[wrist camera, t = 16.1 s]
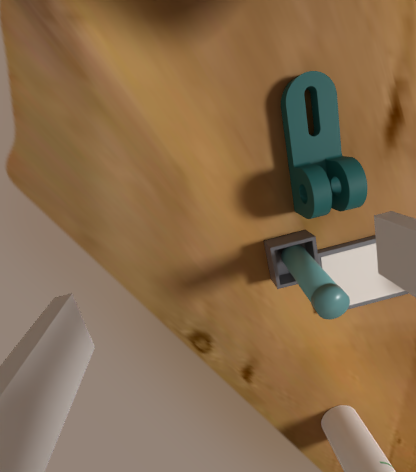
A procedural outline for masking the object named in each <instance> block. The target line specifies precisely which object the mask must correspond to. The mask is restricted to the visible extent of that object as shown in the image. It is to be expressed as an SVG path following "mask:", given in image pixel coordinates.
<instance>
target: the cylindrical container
mask: <svg viewBox="0 0 416 472" xmlns="http://www.w3.org/2000/svg"><path fill="white" fill-rule="evenodd" d="M321 426H322V429H323V431H324V433H325V435H326V437H327V439H328V441H329V443H330V445H331V447H332V449H333V451H334V453H335V454H336V456H337V458H338V460H339V462H340V464H341V466H342V468H343V470H344V472H396V471H395V470H394V468H393V467H392V465H391V464H390V462H389V461H388V459H387V458H386V456H385V455H384V453H383V452H382V450H381V449H380V447H379V446H378V444H377V442H376V441H375V439H374V438H373V436H372V435H371V433H370V432H369V430H368V429H367V427H366V426H365V424H364V423H363V421H362V420H361V418H360V417H359V415H358V414H357V412H356V411H355V410H354V409H353V408H352V407H350V406H346V405H340V406H336V407H333V408H331V409H330V410H328V411H327V412H326V413H325V414H324V416H323V418H322V420H321Z"/></svg>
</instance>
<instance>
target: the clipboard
mask: <svg viewBox="0 0 416 472" xmlns="http://www.w3.org/2000/svg"><path fill="white" fill-rule="evenodd" d="M317 253H318V260H319V265H320V267H321V268H322V269H323V270H324V271H325V272H326V273H327V274H328V275H329V276H330V278H331V279H332V280H333V281H334V282H335V283H336V284H337V285H338V286H340V287H341V288H342V289H343V291H344V292H345V293H346V294H347V295H348V296H349V299H350V304H349V307H348V309H351V308H355V307H358V306H362V305H366V304H370V303H374V302H378V301H381V300H385V299H389V298H393V297H397V296H400V295H404V294H408V292H406V291H405V290H403V289H402V288H400V287H399V286H397V285H396V284H394V283H393V282H391V281H389V280H388V279H386V278H385V277H383V276H382V275H380V274H379V273H378V263H377V249H376V235H375V236H371V237H367V238H363V239H359V240H355V241H351V242H348V243H344V244H340V245H336V246H332V247H328V248H324V249H320V250H317Z"/></svg>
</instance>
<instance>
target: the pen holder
mask: <svg viewBox="0 0 416 472" xmlns="http://www.w3.org/2000/svg"><path fill="white" fill-rule="evenodd" d="M297 244H299V245H301V246H302V247H303V248H304V249H305V250H306V251H307V252H308V253H309V254H310V256H311V257H312V258H313V259H314V260H315V261H316V262H317V263H318V264H319V260H318V253H317V245H316V238H315V236H314V235H312V234H311V233H309V232H308V231H307V230H303V231H299V232H295V233H291V234H287V235H283V236H279V237H275V238H272V239H268V240H264V245H265V251H266V256H267V261H268V266H269V272H270V277H271V280H272V281H273V283H274V284H275V286H276V287H277V289H280V288H284V287H287V286H291V285H295V284H298V283H297V282H296V280H295V279H294V277H293V276H292V275H291V273H290V272H289V270H288V269H287V267H286V266H285V265H284V263H283V262H282V260H281V255H280V254H279V251H278V249H282V248H286V247H289V246H293V245H297Z"/></svg>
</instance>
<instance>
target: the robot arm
mask: <svg viewBox="0 0 416 472" xmlns="http://www.w3.org/2000/svg"><path fill="white" fill-rule="evenodd" d="M374 221H375V235H376V249H377V263H378V273H379V274H380V275H382V276H383V277H385V278H386V279H388V280H389V281H391V282H393V283H394V284H396V285H397V286H399V287H400V288H402V289H403V290H405V291H406V292H408V293H409V294H411V295H412V296H414V297H416V219H414V218H411V217H408V216H405V215H402V214H399V213H396V212H393V211H390V212H386V213H382V214H378V215H374ZM94 348H95V346H94V344H93V341H92V339H91V337H90V334H89V332H88V329H87V327H86V325H85V322H84V320H83V317H82V315H81V313H80V310H79V308H78V306H77V303H76V301H75V299H74V296H73V294H72V293H71V294H67V295H63V296H59V297H55V298H54V299H53V300H52V302H51V303H50V304H49V305H48V306H47V308H46V309H45V310H44V311H43V313H42V314H41V315H40V316H39V318H38V319H37V320H36V321H35V323H34V324H33V325H32V327H31V328H30V329H29V331H28V332H27V333H26V334H25V336H24V337H23V338H22V339H21V340H20V342H19V343H18V344H17V345H16V347H15V348H14V349H13V351H12V352H11V353H10V354H9V356H8V357H7V358H6V359H5V361H4V362H3V363H2V364H1V366H0V472H45V469H46V467H47V464H48V462H49V459H50V457H51V455H52V452H53V450H54V447H55V445H56V442H57V440H58V437H59V435H60V432H61V430H62V427H63V425H64V422H65V420H66V417H67V415H68V412H69V410H70V408H71V405H72V402H73V400H74V398H75V395H76V393H77V390H78V388H79V385H80V383H81V380H82V378H83V375H84V373H85V370H86V368H87V365H88V363H89V360H90V358H91V356H92V353H93V350H94Z"/></svg>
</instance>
